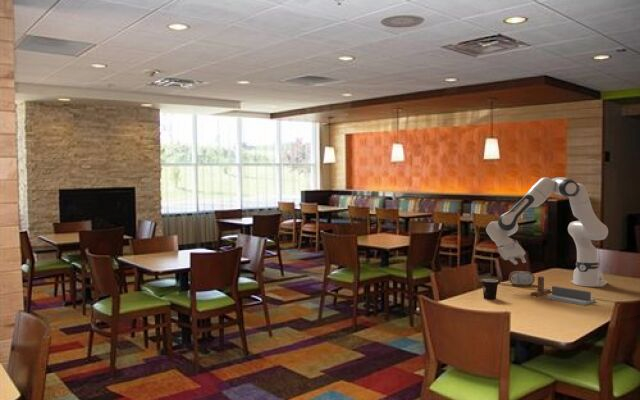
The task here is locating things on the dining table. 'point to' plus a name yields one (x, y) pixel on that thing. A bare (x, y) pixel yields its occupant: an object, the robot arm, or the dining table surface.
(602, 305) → the dining table surface
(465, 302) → the dining table surface
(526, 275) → the tin
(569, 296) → the ridge stand
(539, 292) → the brown t-shaped block
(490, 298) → the coffee mug
